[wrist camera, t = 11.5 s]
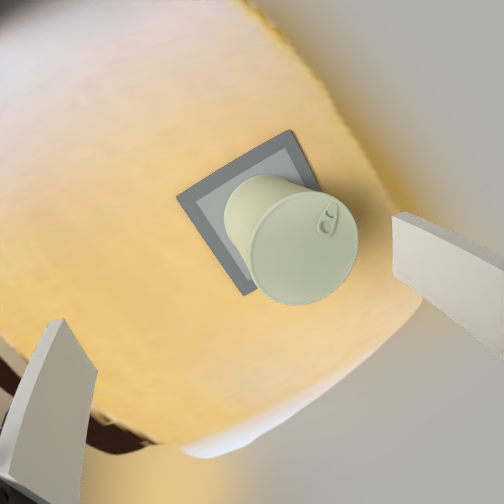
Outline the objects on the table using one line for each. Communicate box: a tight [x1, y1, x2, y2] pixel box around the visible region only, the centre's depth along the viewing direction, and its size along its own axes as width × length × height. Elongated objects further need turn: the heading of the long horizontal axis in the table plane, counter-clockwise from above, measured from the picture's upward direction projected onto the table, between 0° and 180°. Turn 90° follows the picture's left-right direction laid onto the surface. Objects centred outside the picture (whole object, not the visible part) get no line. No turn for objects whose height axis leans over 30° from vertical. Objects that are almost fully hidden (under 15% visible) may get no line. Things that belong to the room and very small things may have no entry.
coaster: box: [176, 130, 321, 296], centre depth 33 cm, size 14×14×1 cm
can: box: [224, 175, 359, 306], centre depth 27 cm, size 9×9×12 cm
